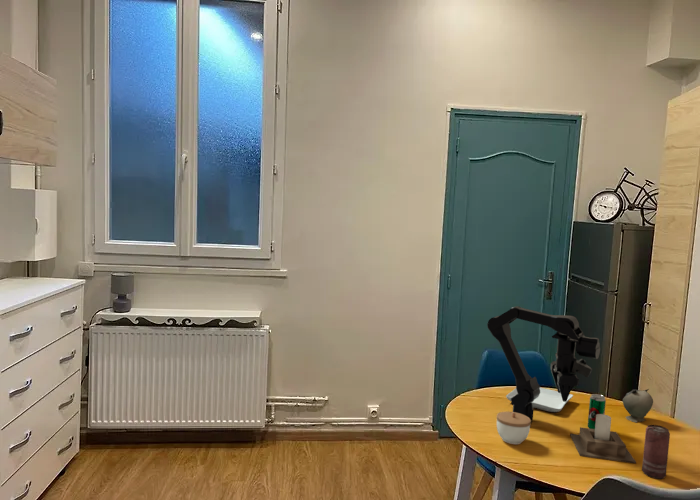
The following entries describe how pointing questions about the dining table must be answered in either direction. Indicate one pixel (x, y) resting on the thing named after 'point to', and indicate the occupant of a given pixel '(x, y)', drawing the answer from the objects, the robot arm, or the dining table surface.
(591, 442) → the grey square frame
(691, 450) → the dining table surface
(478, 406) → the dining table surface
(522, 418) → the lidded jar
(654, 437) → the can
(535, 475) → the dining table surface
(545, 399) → the salad plate
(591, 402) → the soda can
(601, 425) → the cream peg
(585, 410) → the dining table surface
